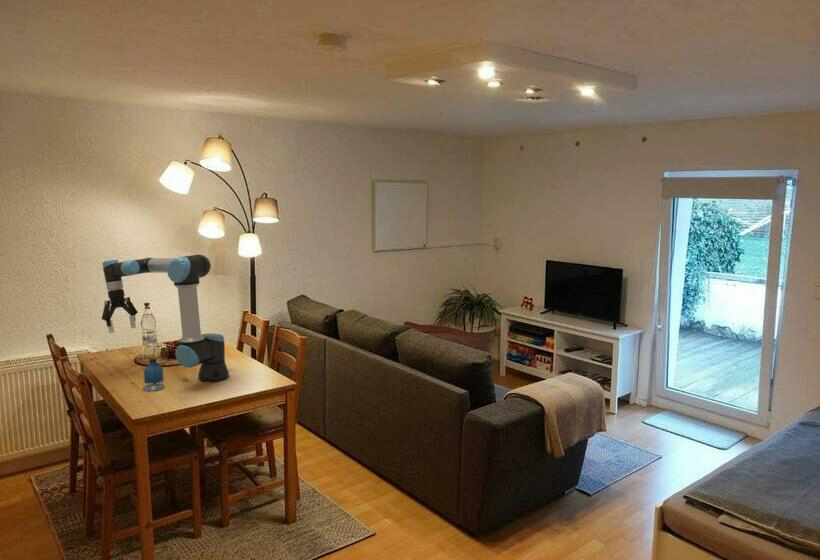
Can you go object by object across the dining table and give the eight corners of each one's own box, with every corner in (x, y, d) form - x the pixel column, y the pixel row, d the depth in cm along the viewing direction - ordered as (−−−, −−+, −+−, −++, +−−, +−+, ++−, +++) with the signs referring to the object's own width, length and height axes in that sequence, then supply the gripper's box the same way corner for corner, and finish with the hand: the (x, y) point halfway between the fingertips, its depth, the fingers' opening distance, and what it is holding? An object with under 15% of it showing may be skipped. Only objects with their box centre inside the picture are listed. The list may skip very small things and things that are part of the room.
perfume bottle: (155, 384, 294) (154, 361, 292) (144, 383, 296) (143, 360, 294) (163, 380, 300) (161, 357, 298) (152, 379, 302) (151, 356, 300)
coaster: (169, 386, 291) (169, 385, 291) (154, 393, 282) (154, 391, 282) (152, 383, 295) (152, 382, 294) (137, 390, 285) (137, 389, 285)
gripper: (130, 287, 316) (137, 326, 317) (89, 293, 294) (96, 335, 294) (140, 286, 313) (147, 325, 314) (99, 291, 291) (107, 334, 291)
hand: (122, 330), depth 304 cm, fingers open, 13 cm apart
